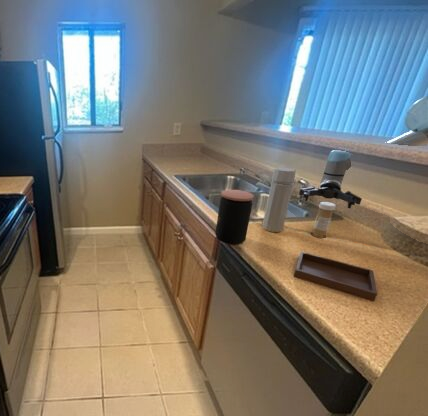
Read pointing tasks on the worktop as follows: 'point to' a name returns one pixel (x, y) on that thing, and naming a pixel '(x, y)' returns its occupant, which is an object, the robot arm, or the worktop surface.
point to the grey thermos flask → (278, 199)
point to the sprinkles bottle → (323, 219)
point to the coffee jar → (233, 216)
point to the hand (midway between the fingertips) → (327, 201)
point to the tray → (337, 275)
